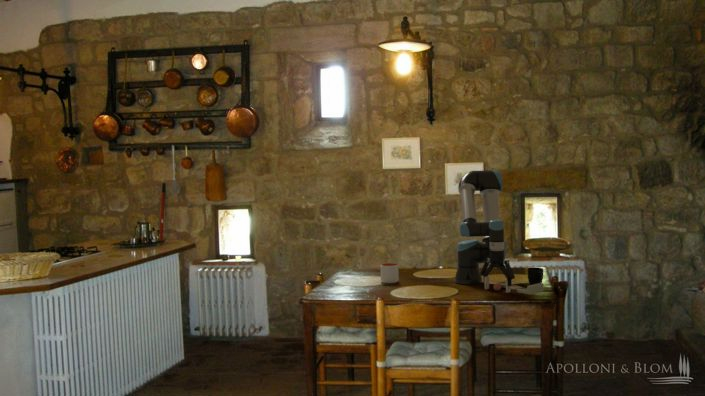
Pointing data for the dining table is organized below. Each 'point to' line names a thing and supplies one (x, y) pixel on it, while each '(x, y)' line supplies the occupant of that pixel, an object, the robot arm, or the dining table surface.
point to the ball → (497, 286)
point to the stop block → (532, 289)
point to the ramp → (512, 287)
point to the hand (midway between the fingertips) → (497, 290)
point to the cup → (389, 273)
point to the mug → (535, 275)
